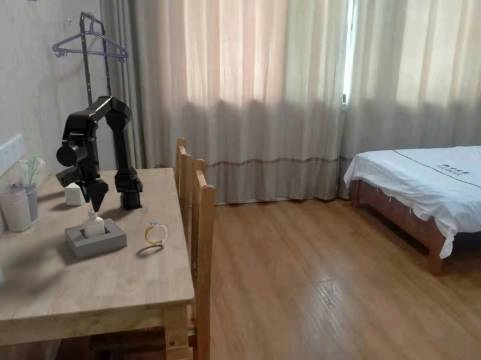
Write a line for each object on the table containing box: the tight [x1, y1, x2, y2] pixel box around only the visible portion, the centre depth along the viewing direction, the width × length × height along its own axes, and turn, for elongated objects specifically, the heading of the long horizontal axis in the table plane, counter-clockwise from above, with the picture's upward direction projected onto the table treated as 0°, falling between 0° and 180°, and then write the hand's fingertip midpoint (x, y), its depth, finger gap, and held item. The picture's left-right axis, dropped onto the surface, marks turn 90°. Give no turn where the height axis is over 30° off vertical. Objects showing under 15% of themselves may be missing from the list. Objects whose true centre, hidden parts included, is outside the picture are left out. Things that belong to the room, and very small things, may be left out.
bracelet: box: [144, 220, 169, 247], centre depth 120 cm, size 7×3×8 cm, turn 103°
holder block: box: [64, 217, 128, 260], centre depth 121 cm, size 14×14×4 cm
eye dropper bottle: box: [83, 206, 105, 239], centre depth 120 cm, size 4×6×12 cm
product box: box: [63, 183, 86, 206], centre depth 153 cm, size 6×6×7 cm
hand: (91, 207), depth 118 cm, fingers open, 9 cm apart
